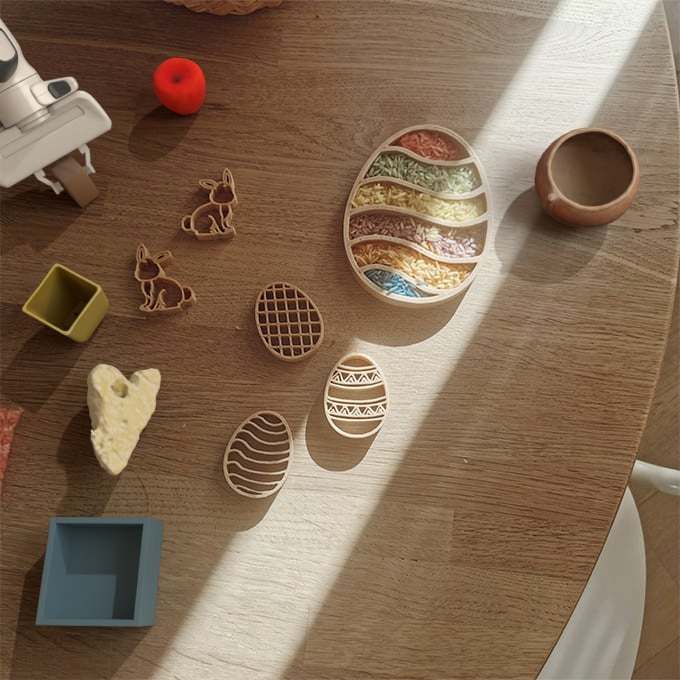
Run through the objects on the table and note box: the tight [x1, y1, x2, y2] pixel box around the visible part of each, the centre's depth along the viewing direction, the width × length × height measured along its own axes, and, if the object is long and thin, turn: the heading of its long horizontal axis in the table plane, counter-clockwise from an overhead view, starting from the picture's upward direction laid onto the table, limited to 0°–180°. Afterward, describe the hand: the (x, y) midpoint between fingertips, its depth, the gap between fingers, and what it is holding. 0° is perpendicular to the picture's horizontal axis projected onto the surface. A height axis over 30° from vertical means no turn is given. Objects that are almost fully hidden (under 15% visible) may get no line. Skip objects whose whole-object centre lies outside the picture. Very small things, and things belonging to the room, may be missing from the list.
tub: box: [34, 516, 165, 628], centre depth 99 cm, size 14×14×7 cm
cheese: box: [86, 363, 162, 476], centre depth 107 cm, size 15×7×15 cm
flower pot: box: [21, 263, 110, 343], centre depth 112 cm, size 9×9×9 cm
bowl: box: [534, 126, 641, 229], centre depth 114 cm, size 16×16×10 cm
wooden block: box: [50, 154, 101, 208], centre depth 120 cm, size 4×4×8 cm
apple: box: [152, 57, 207, 116], centre depth 125 cm, size 9×9×8 cm
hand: (76, 183), depth 120 cm, fingers closed on wooden block, 4 cm apart
